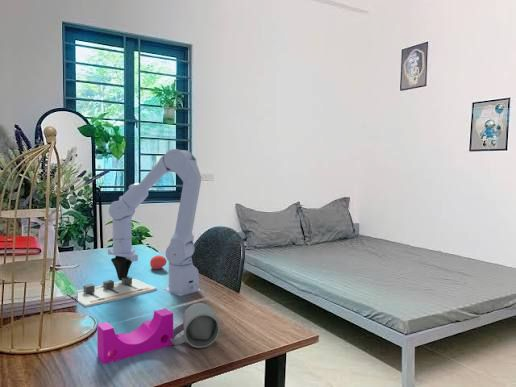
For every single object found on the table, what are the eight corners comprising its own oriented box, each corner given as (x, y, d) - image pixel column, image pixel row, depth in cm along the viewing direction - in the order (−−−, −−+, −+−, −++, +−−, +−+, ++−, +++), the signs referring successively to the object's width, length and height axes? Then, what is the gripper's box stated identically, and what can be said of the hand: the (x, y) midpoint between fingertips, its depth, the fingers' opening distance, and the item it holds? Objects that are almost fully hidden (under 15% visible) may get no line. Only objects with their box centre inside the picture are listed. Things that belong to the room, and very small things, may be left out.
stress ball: (153, 275, 141) (153, 258, 140) (148, 269, 149) (148, 252, 148) (167, 273, 143) (167, 256, 143) (161, 267, 151) (161, 251, 151)
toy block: (160, 336, 91) (160, 305, 91) (173, 346, 86) (173, 313, 86) (93, 355, 82) (93, 320, 81) (103, 367, 77) (103, 330, 76)
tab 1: (94, 292, 116) (94, 285, 116) (86, 293, 114) (86, 287, 114) (91, 290, 117) (91, 284, 117) (83, 292, 116) (83, 285, 116)
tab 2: (113, 287, 120) (113, 281, 120) (106, 289, 119) (106, 283, 118) (110, 286, 122) (110, 280, 122) (103, 287, 120) (103, 281, 120)
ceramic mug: (213, 326, 94) (212, 296, 92) (220, 345, 86) (219, 312, 84) (168, 334, 91) (166, 303, 89) (171, 353, 83) (169, 320, 81)
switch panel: (156, 292, 122) (156, 287, 122) (85, 310, 106) (85, 304, 106) (134, 282, 131) (134, 277, 131) (65, 298, 115) (65, 292, 115)
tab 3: (131, 283, 125) (131, 277, 125) (124, 285, 123) (124, 279, 123) (128, 282, 126) (128, 276, 126) (121, 284, 124) (121, 277, 124)
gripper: (146, 239, 124) (146, 281, 125) (121, 233, 133) (121, 272, 134) (126, 242, 119) (126, 286, 119) (101, 236, 128) (102, 277, 129)
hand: (122, 279), depth 126 cm, fingers closed
